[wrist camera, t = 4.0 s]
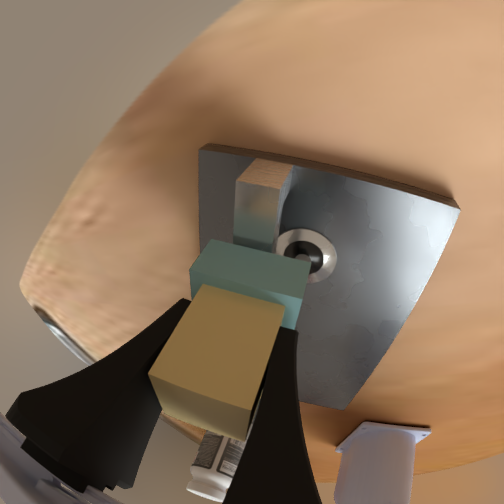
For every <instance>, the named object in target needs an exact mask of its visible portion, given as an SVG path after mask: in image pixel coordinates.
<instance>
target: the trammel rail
mask: <svg viewBox="0 0 504 504" xmlns="http://www.w3.org/2000/svg"><path fill="white" fill-rule="evenodd" d="M292 170H293V165H291V164H286V163H280V162H275V161H270V160H264V159H258V158H256V159H255V160H254V161H253V162H252V163H251V165H250V166H249V167H248V168H247V169H246V170H245V171H244V172H243V173H242V174H241V176H240V177H239V178H238V179H237V180H236V189H235V208H234V228H233V244H235V245H240V246H244V247H248V248H252V249H256V250H260V251H264V252H269V253H273V254H276V249H277V242H278V235H279V228H280V222H281V215H282V208H283V203H284V201H285V199H286V197H287V195H288V193H289V191H290V184H291V177H292ZM260 400H261V399H260ZM260 400H259V403H258V406H257V409H256V412H255V415H254V417H253V420H252V423H251V426H250V429H249V432H248V434H247V437H246V440H245V441H247V440H248V437H249V434H250V432H251V429H252V426H253V423H254V420H255V418H256V415H257V412H258V409H259V404H260Z"/></svg>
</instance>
